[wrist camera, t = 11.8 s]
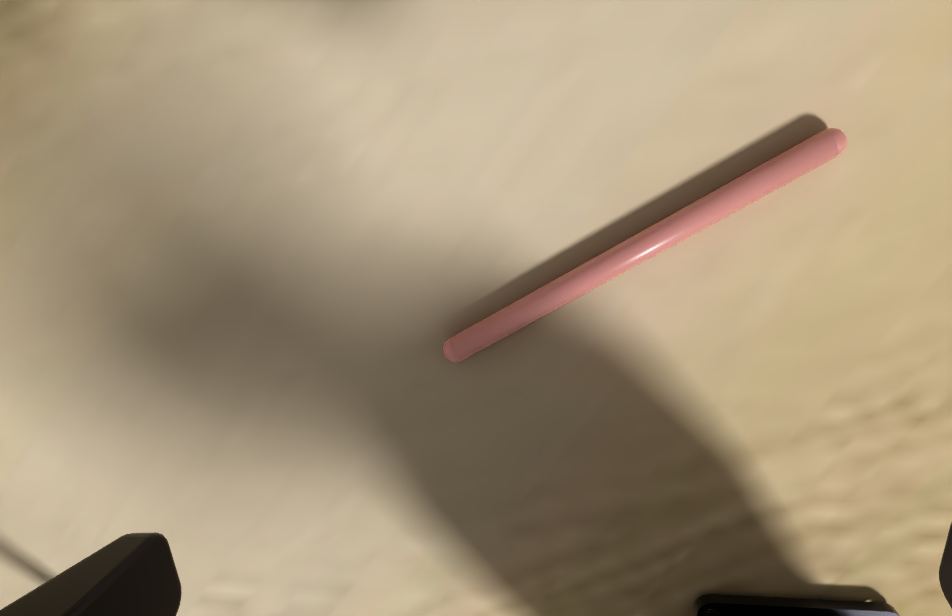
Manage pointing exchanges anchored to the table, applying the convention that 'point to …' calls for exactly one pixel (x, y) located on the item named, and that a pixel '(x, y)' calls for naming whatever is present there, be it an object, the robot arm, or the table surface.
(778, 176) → the pink rod
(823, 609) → the robot arm
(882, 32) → the table surface
